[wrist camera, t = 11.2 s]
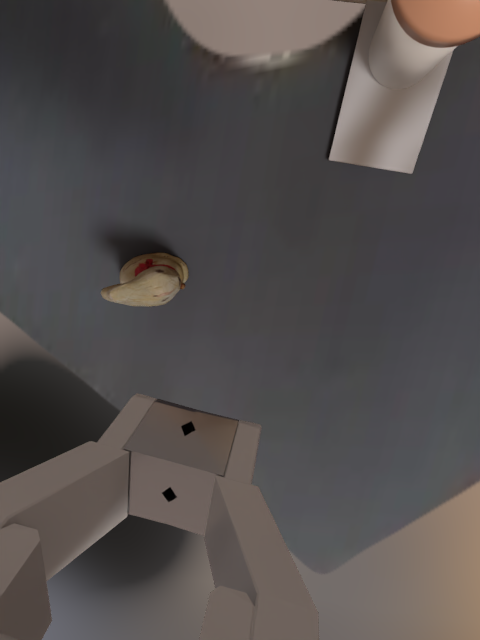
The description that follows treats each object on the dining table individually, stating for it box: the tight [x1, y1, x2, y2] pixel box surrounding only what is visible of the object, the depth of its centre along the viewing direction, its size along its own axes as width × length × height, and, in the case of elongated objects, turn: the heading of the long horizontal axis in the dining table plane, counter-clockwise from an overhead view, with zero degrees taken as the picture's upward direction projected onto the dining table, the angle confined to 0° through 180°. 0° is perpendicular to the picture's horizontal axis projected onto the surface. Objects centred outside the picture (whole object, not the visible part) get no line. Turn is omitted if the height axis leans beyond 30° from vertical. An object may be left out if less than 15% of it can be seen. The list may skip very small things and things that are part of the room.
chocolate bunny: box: [101, 253, 189, 307], centre depth 33 cm, size 6×8×10 cm
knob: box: [369, 0, 480, 89], centre depth 20 cm, size 6×6×12 cm
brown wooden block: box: [329, 0, 453, 174], centre depth 22 cm, size 16×19×8 cm
